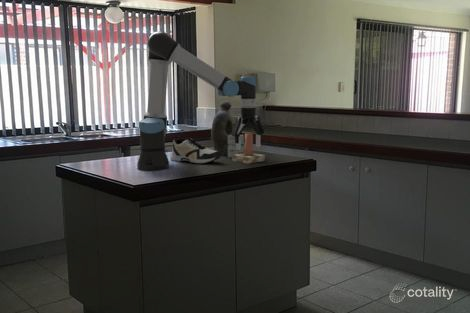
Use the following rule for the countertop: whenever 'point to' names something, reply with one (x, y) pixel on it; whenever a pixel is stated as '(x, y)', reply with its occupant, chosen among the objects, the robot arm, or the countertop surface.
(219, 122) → the sculpture
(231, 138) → the ink box
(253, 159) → the socket
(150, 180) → the countertop surface
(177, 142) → the running shoe
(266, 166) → the countertop surface
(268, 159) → the countertop surface
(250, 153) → the peg
